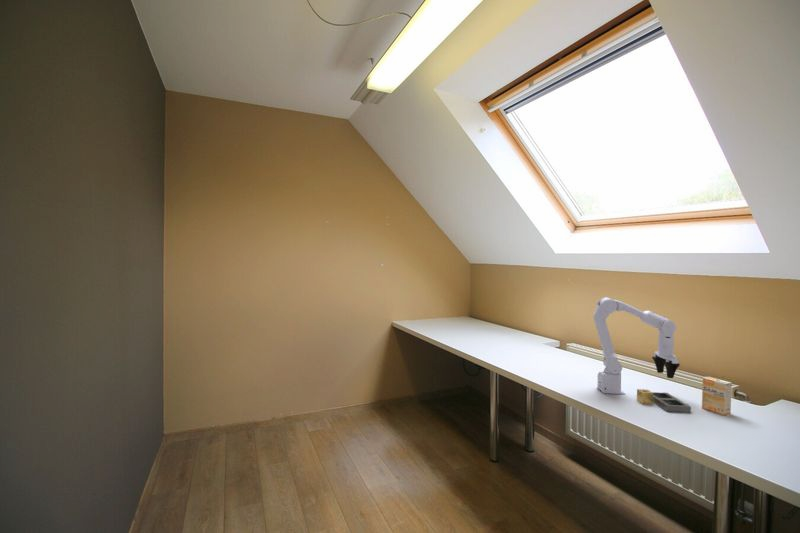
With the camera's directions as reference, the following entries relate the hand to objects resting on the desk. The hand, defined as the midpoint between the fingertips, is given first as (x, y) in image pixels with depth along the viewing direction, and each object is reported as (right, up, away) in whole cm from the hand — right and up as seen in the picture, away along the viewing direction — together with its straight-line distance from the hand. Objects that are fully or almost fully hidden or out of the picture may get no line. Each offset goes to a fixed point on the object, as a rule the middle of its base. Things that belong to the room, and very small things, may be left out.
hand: (665, 375), depth 172 cm
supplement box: (+9, -10, -16) cm, 22 cm away
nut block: (-14, -10, -7) cm, 18 cm away
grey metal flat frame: (-6, -10, -10) cm, 15 cm away
